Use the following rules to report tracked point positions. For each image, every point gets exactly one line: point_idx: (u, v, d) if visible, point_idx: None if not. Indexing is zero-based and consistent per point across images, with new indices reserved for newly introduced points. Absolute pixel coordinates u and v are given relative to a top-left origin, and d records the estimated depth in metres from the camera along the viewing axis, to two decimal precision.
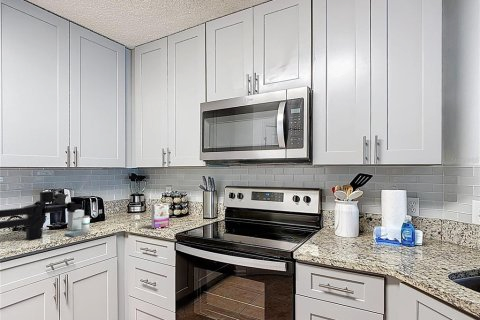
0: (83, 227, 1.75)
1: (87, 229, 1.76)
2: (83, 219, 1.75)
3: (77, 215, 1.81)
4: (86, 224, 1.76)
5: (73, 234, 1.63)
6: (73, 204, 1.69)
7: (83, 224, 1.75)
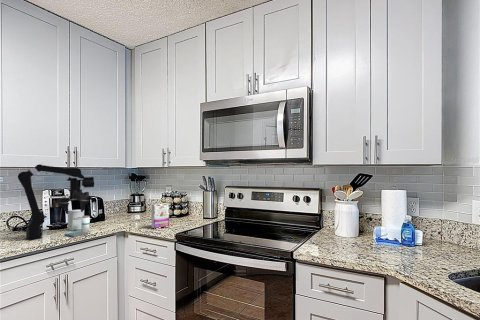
0: (83, 227, 1.75)
1: (87, 229, 1.76)
2: (83, 219, 1.75)
3: (77, 215, 1.81)
4: (86, 224, 1.76)
5: (73, 234, 1.63)
6: (61, 201, 1.61)
7: (83, 224, 1.75)
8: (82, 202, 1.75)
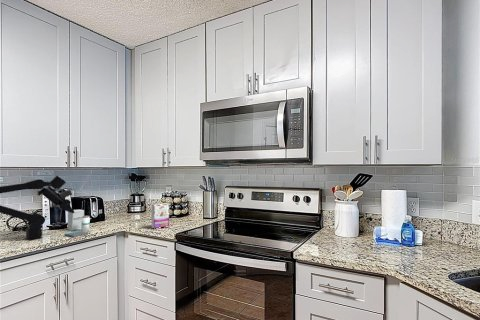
0: (83, 227, 1.75)
1: (87, 229, 1.76)
2: (83, 219, 1.75)
3: (77, 215, 1.81)
4: (86, 224, 1.76)
5: (73, 234, 1.63)
6: (67, 202, 1.62)
7: (83, 224, 1.75)
8: None
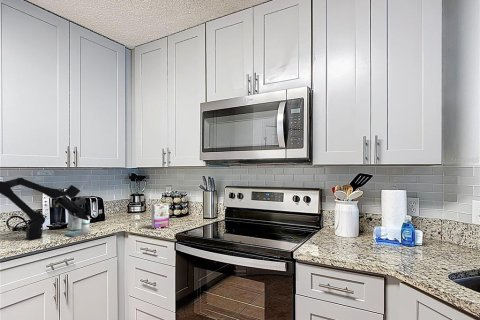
0: (83, 227, 1.75)
1: (87, 229, 1.76)
2: (83, 219, 1.75)
3: None
4: (86, 224, 1.76)
5: (73, 234, 1.63)
6: (83, 210, 1.68)
7: (83, 224, 1.75)
8: None
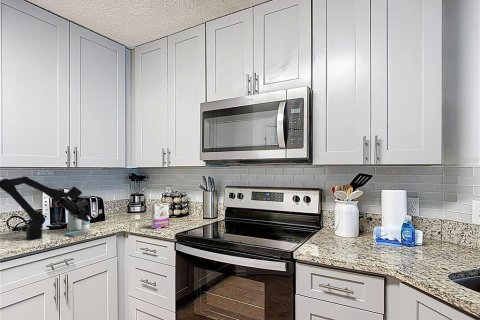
0: (83, 227, 1.75)
1: (87, 229, 1.76)
2: None
3: None
4: (86, 224, 1.76)
5: (73, 234, 1.63)
6: (85, 211, 1.69)
7: (83, 224, 1.75)
8: None
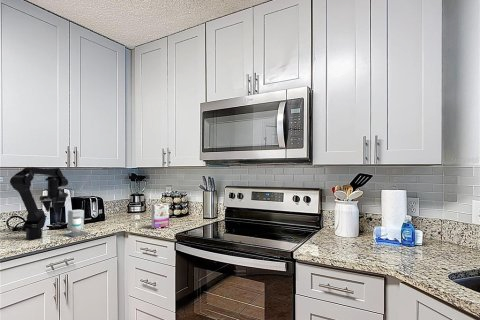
0: (73, 229, 1.65)
1: (77, 231, 1.65)
2: (73, 220, 1.65)
3: (77, 215, 1.81)
4: (76, 226, 1.65)
5: (73, 234, 1.63)
6: (64, 199, 1.70)
7: (73, 225, 1.65)
8: (47, 202, 1.75)
